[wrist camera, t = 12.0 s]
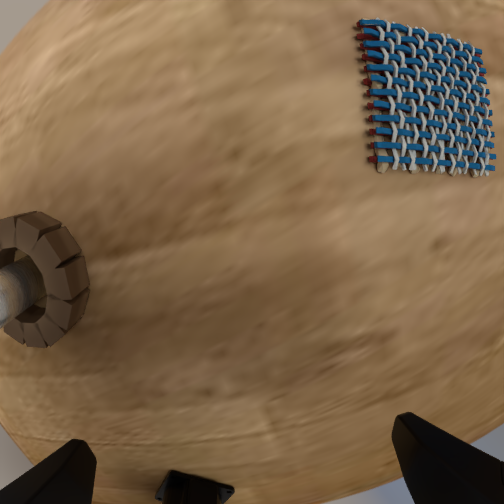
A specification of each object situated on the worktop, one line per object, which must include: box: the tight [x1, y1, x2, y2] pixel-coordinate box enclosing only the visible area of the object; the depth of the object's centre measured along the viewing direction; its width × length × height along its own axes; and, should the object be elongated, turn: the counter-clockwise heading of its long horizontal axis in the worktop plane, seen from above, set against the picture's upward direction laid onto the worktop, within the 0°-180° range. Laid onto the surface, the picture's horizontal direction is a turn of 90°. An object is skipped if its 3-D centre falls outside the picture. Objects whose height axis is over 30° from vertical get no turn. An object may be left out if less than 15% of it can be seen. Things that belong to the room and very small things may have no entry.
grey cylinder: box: [0, 255, 47, 329], centre depth 14 cm, size 3×3×8 cm
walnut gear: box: [0, 211, 90, 348], centre depth 17 cm, size 9×9×3 cm
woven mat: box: [357, 18, 496, 177], centre depth 16 cm, size 10×11×2 cm
